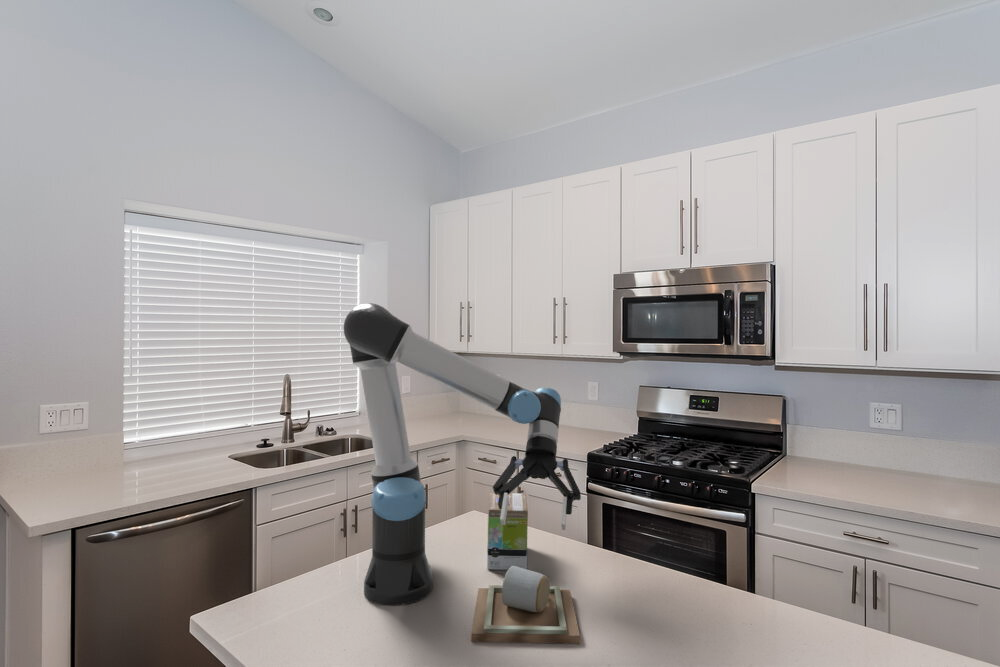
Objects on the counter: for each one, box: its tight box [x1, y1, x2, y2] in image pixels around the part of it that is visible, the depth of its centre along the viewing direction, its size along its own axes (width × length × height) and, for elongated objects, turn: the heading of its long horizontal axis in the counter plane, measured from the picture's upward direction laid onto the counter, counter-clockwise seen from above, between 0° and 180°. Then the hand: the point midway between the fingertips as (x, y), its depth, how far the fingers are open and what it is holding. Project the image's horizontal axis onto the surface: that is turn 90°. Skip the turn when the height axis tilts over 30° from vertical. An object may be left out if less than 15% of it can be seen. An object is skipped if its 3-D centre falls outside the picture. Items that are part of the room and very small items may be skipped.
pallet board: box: [470, 584, 581, 645], centre depth 109 cm, size 20×18×2 cm
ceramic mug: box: [502, 566, 551, 613], centre depth 111 cm, size 11×8×8 cm
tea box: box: [486, 492, 529, 571], centre depth 138 cm, size 15×10×15 cm
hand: (532, 524), depth 119 cm, fingers open, 13 cm apart
